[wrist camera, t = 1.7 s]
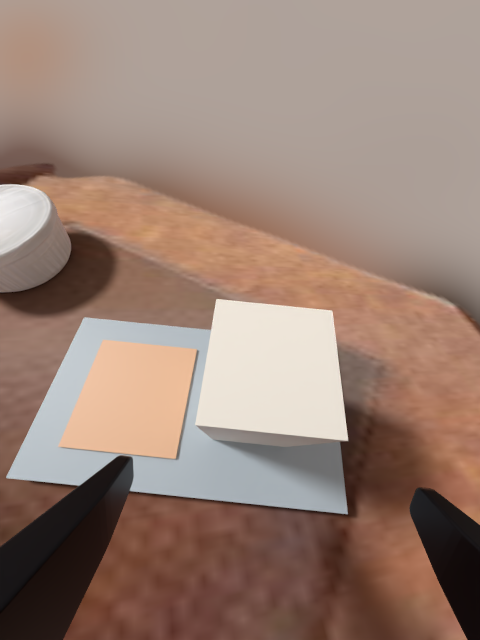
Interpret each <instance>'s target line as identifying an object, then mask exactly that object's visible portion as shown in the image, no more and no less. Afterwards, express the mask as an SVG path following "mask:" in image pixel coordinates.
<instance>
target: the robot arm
mask: <svg viewBox="0 0 480 640" xmlns="http://www.w3.org/2000/svg"><path fill="white" fill-rule="evenodd" d="M133 478H134V470H133V458H132V457H131V456H125V455H119V456H117V457H116V458H115V459H113V460H112V461H111V462H109V463H108V464H107V465H106V466H104V467H103V468H102V469H100V470H99V471H98V472H96V473H95V474H94V475H93V476H91V477H90V478H89V479H87V480H86V481H85V482H83V483H82V484H81V485H80V486H78V487H77V488H76V489H74V490H73V491H72V492H71V493H69V494H68V495H67V496H65V497H64V498H63V499H61V500H60V501H59V502H58V503H56V504H55V505H54V506H52V507H51V508H50V509H49V510H47V511H46V512H45V513H43V514H42V515H41V516H39V517H38V518H37V519H36V520H34V521H33V522H32V523H30V524H29V525H28V526H26V527H25V528H24V529H23V530H21V531H20V532H19V533H17V534H16V535H15V536H14V537H12V538H11V539H10V540H8V541H7V542H6V543H4V544H3V545H2V546H1V547H0V640H63V638H64V636H65V634H66V632H67V630H68V628H69V626H70V624H71V622H72V620H73V618H74V616H75V614H76V611H77V609H78V607H79V605H80V603H81V601H82V599H83V597H84V595H85V593H86V591H87V589H88V587H89V585H90V583H91V580H92V578H93V576H94V574H95V572H96V570H97V568H98V566H99V564H100V562H101V560H102V558H103V556H104V553H105V551H106V549H107V547H108V545H109V542H110V540H111V537H112V535H113V532H114V530H115V527H116V525H117V522H118V519H119V517H120V514H121V512H122V509H123V506H124V504H125V501H126V499H127V496H128V493H129V491H130V488H131V486H132V483H133ZM410 514H411V517H412V519H413V522H414V524H415V526H416V529H417V531H418V534H419V536H420V538H421V541H422V543H423V546H424V548H425V550H426V553H427V555H428V558H429V560H430V562H431V565H432V567H433V570H434V572H435V574H436V576H437V579H438V581H439V583H440V585H441V587H442V589H443V592H444V594H445V596H446V598H447V600H448V602H449V604H450V606H451V608H452V610H453V612H454V614H455V616H456V618H457V620H458V622H459V624H460V626H461V628H462V630H463V632H464V634H465V636H466V638H467V640H480V525H479V524H478V523H476V522H475V521H474V520H473V519H471V518H470V517H469V516H467V515H466V514H465V513H463V512H462V511H461V510H460V509H458V508H457V507H456V506H454V505H453V504H452V503H450V502H449V501H448V500H447V499H445V498H444V497H443V496H441V495H440V494H439V493H437V492H436V491H435V490H433V489H430V488H421V487H420V488H417V489H416V491H415V494H414V496H413V499H412V501H411V504H410Z"/></svg>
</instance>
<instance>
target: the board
mask: <svg viewBox="0 0 480 640" xmlns="http://www.w3.org/2000/svg"><path fill="white" fill-rule="evenodd" d="M210 334H211V330H204V329H194V328H184V327H174V326H164V325H154V324H144V323H134V322H124V321H114V320H104V319H94V318H84V319H83V321H82V323H81V325H80V327H79V329H78V331H77V333H76V335H75V337H74V340H73V342H72V344H71V346H70V348H69V350H68V352H67V354H66V356H65V358H64V360H63V362H62V364H61V366H60V368H59V370H58V372H57V374H56V376H55V378H54V381H53V383H52V385H51V387H50V389H49V391H48V393H47V395H46V397H45V399H44V401H43V403H42V405H41V407H40V409H39V411H38V413H37V415H36V417H35V419H34V422H33V424H32V426H31V428H30V430H29V432H28V434H27V436H26V438H25V440H24V442H23V444H22V446H21V448H20V450H19V452H18V454H17V456H16V458H15V460H14V463H13V465H12V467H11V469H10V471H9V473H8V475H7V477H6V478H12V479H21V480H31V481H40V482H49V483H59V484H68V485H78V486H80V485H81V484H82V483H83V482H85V481H86V480H87V479H89V478H90V477H91V476H93V475H94V474H95V473H96V472H98V471H99V470H100V469H102V468H103V467H104V466H106V465H107V464H108V463H109V462H111V461H112V460H113V459H115V458H116V457H117V456H119V455H125V456H131V457H132V458H133V470H134V478H133V483H132V486H131V488H130V491H134V492H144V493H153V494H162V495H172V496H181V497H191V498H200V499H209V500H219V501H228V502H238V503H247V504H257V505H266V506H275V507H285V508H294V509H304V510H313V511H322V512H332V513H341V514H348V511H347V502H346V493H345V483H344V474H343V465H342V455H341V446H340V442H333V443H322V444H312V445H302V446H292V447H280V446H270V445H261V444H251V443H241V442H232V441H222V440H213V439H211V438H210V437H209V436H208V435H207V434H205V433H204V432H203V431H202V430H200V429H199V428H198V427H197V426H196V425H195V422H196V417H197V411H198V405H199V399H200V393H201V387H202V381H203V375H204V370H205V364H206V358H207V352H208V346H209V340H210Z"/></svg>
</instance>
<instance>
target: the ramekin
mask: <svg viewBox="0 0 480 640" xmlns="http://www.w3.org/2000/svg"><path fill="white" fill-rule="evenodd" d="M70 253H71V242H70V238H69V236H68V234H67V232H66V230H65V228H64V226H63V224H62V222H61V220H60V218H59V216H58V213H57V209H56V207H55V205H54V203H53V202H52V201H51V199H50V198H49V197H48V196H47V195H46V194H45V193H44V192H42V191H41V190H38V189H36V188H33V187H29V186H24V185H0V292H17V291H23V290H27V289H30V288H33V287H36V286H39V285H41V284H43V283H45V282H46V281H48V280H50V279H51V278H53V277H54V276H55V275H56V274H58V273H59V272H60V271H61V270H62V269H63V267H64V266H65V265H66V263H67V261H68V259H69V256H70Z"/></svg>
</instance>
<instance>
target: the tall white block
mask: <svg viewBox="0 0 480 640" xmlns="http://www.w3.org/2000/svg"><path fill="white" fill-rule="evenodd" d="M195 425H196V426H197V427H198V428H199V429H200V430H202V431H203V432H204V433H205V434H207V435H208V436H209V437H210V438H211V439H213V440H222V441H232V442H241V443H251V444H261V445H270V446H280V447H292V446H302V445H312V444H322V443H333V442H343V441H348V435H347V426H346V418H345V410H344V402H343V394H342V386H341V378H340V370H339V362H338V353H337V345H336V337H335V329H334V321H333V313H332V311H331V310H321V309H311V308H301V307H290V306H280V305H270V304H260V303H250V302H240V301H230V300H220V299H216V305H215V311H214V317H213V323H212V329H211V334H210V340H209V346H208V352H207V358H206V364H205V370H204V375H203V381H202V387H201V393H200V399H199V405H198V411H197V417H196V422H195Z"/></svg>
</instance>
